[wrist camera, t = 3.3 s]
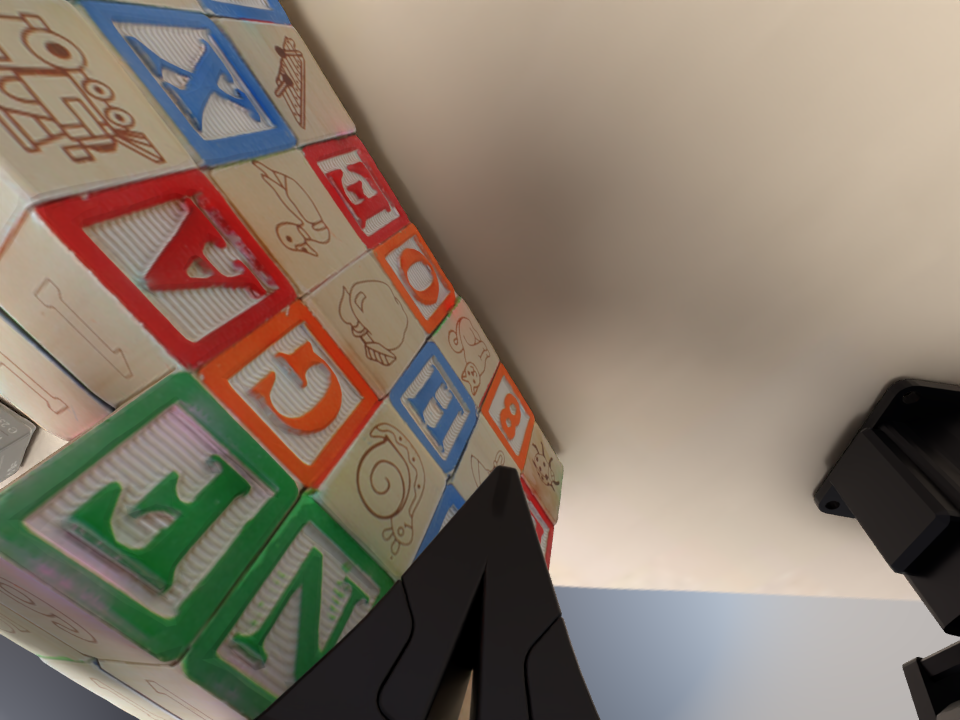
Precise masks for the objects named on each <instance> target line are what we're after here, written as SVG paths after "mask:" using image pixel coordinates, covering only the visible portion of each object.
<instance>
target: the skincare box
mask: <svg viewBox="0 0 960 720" xmlns="http://www.w3.org/2000/svg"><path fill="white" fill-rule="evenodd" d="M35 430H36V426H35V425H34V424H33V423H31V422H30V421H29V420H27V419H25V418H23V417H22V416H20V415H19V414H17V413H15V412H14V411H12V410H11V409H10V408H8V407H7V406H5V405H4V404H2V403H1V402H0V482H2V481H3V480H5V479H6V478H8V477H10V476H11V475H13V474H14V473H16V472H17V471H18V469H19V466H20V464H21V462H22V459H23V456H24V453H25V450H26V448H27V446H28V444H29V441H30V439H31V436H32V434H33V433H34V431H35Z"/></svg>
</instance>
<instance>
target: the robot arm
mask: <svg viewBox="0 0 960 720" xmlns="http://www.w3.org/2000/svg"><path fill="white" fill-rule="evenodd" d="M909 392H912V393H910V394H909V395H908V396H905V397H903V396H904V395H905V394H906V393H909ZM814 502H815V503H816V505H817V507H818V508H819V510H820V511H822V512H824V513H827V514H833V515H838V516H844V517H850V518H855V519H857V520H858V522H859V523H860V525H861V526H862V528H863V529H864V530H865V532H866V533H867V535H868V536H869V538H870V539H871V541H872V542H873V543H874V545H875V546H876V548H877V549H878V551H879V552H880V553H881V555H882V556H883V558H884V559H885V561H886V562H887V563H888V565H889V566H890V568H891V569H892V570H893V571H894V572H896V573H900V574H903V575H904V576H905V577H906V579H907V580H908V581H909V583H910V584H911V586H912V587H913V588H914V590H915V591H916V593H917V594H918V595H919V597H920V598H921V600H922V601H923V602H924V604H925V605H926V607H927V608H928V609H929V611H930V612H931V614H932V615H933V616H934V618H935V619H936V621H937V622H938V623H939V625H940V626H941V628H942V629H943V630H944V632H945V633H947V634H950V635H954V636H959V637H960V386H956V385H949V384H942V383H935V382H928V381H921V380H914V379H905V380H901V381H898V382H896V383H894V384H893V385H892V386H891V387H890V388H889V389H888V390H887V391H886V393H885V394H884V396H883V397H882V399H881V400H880V402H879V403H878V404H877V406H876V407H875V409H874V410H873V412H872V413H871V415H870V416H869V418H868V419H867V420H866V422H865V423H864V425H863V426H862V428H861V429H860V431H859V432H858V433H857V435H856V436H855V438H854V439H853V441H852V442H851V444H850V445H849V447H848V448H847V449H846V451H845V452H844V454H843V455H842V457H841V458H840V460H839V461H838V463H837V464H836V465H835V467H834V468H833V470H832V471H831V473H830V474H829V476H828V477H827V479H826V480H825V481H824V483H823V484H822V486H821V487H820V489H819V490H818V492H817V493H816V494H815V496H814ZM561 616H562V613H561V610H560V606H559V603H558V600H557V597H556V594H555V591H554V587H553V584H552V580H551V577H550V574H549V571H548V567H547V564H546V561H545V558H544V555H543V551H542V548H541V545H540V542H539V538H538V535H537V532H536V529H535V525H534V522H533V519H532V516H531V512H530V509H529V506H528V503H527V500H526V496H525V493H524V490H523V487H522V483H521V480H520V477H519V474H518V471H517V469H516V468H513V467H508V466H503V465H498V466H496V467H495V468H494V470H493V471H492V472H491V473H490V474H489V475H488V477H487V478H486V479H485V480H484V481H483V482H482V483H481V485H480V486H479V487H478V488H477V489H476V490H475V492H474V493H473V494H472V495H471V496H470V497H469V498H468V500H467V501H466V502H465V503H464V504H463V505H462V507H461V508H460V509H459V510H458V511H457V512H456V513H455V515H454V516H453V517H452V518H451V519H450V520H449V522H448V523H447V524H446V525H445V526H444V527H443V528H442V530H441V531H440V532H439V533H438V534H437V535H436V537H435V538H434V539H433V540H432V541H431V542H430V543H429V545H428V546H427V547H426V548H425V549H424V550H423V552H422V553H421V554H420V555H419V556H418V557H417V558H416V560H415V561H414V562H413V563H412V564H411V565H410V566H409V568H408V569H407V570H406V571H405V572H404V573H403V575H402V576H401V580H400V579H399V580H397V581H396V582H395V584H394V585H393V586H392V587H391V588H390V589H389V590H388V592H387V593H386V594H385V595H384V596H383V597H382V598H381V599H380V600H379V602H378V603H377V604H376V605H375V606H374V607H373V608H372V609H371V610H370V611H369V612H368V613H367V615H366V616H365V617H364V618H363V619H362V620H361V621H360V622H359V623H358V624H357V625H356V626H355V627H354V628H353V629H351V630H350V631H349V632H348V633H347V634H346V635H345V636H344V637H343V638H342V639H341V640H340V641H339V642H338V643H337V644H336V645H335V646H334V647H333V648H332V649H331V650H329V651H328V652H327V653H326V654H325V655H324V656H323V657H322V658H321V659H320V660H319V661H318V662H316V663H315V664H314V665H313V666H312V667H311V668H310V669H309V670H308V671H307V672H306V673H305V674H303V675H302V676H301V677H300V678H299V679H298V680H297V681H296V682H295V683H294V684H293V685H292V686H290V687H289V688H288V689H287V690H286V691H285V692H284V693H283V694H282V695H281V696H280V697H279V698H277V699H276V700H275V701H274V702H273V703H272V704H271V705H270V706H269V707H268V708H266V709H265V710H264V711H263V712H262V713H261V714H260V715H258V716H257V717H256V718H255V719H253V720H458V718H459V714H460V711H461V708H462V704H463V701H464V697H465V694H466V690H467V687H468V684H469V680H470V677H471V673H472V670H473V674H472V688H471V702H470V715H469V720H600V718H599V715H598V713H597V711H596V708H595V705H594V703H593V700H592V698H591V695H590V693H589V691H588V688H587V686H586V683H585V681H584V678H583V676H582V673H581V670H580V668H579V665H578V661H577V659H576V656H575V653H574V650H573V647H572V645H571V641H570V638H569V635H568V631H567V629H566V625H565V622H564V619H563V618H562V617H561ZM903 670H904V674H905V677H906V680H907V683H908V686H909V689H910V692H911V696H912V699H913V702H914V705H915V708H916V711H917V714H918V717H919V720H960V641H958V642H956V643H954V644H952V645H950V646H948V647H946V648H944V649H942V650H940V651H938V652H936V653H934V654H932V655H930V656H928V657H925V658H920V657H916V658H915V659H912V660H910V661H908V662H906V663H905V664H903Z"/></svg>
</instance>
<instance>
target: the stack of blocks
mask: <svg viewBox="0 0 960 720" xmlns="http://www.w3.org/2000/svg"><path fill="white" fill-rule="evenodd" d="M0 395H2V396H3V397H4V398H5V399H7V400H8V401H9V402H10V403H12V404H13V405H14V406H15V407H17V408H18V409H19V410H20V411H21V412H23V413H24V414H25V415H26V416H28V417H29V418H30V419H31V420H33V421H34V422H35V423H36V424H38V425H39V426H40V427H41V428H43V429H44V430H46V431H48V432H50V433H52V434H54V435H56V436H57V437H59V438H61V439H63V440H66V441H70V442H69V443H67V444H66V445H64V446H63V447H61V448H60V449H58V450H57V451H56V452H54V453H53V454H51V455H50V456H48V457H47V458H45V459H44V460H42V461H41V462H40V463H38V464H37V465H35V466H34V467H32V468H31V469H29V470H28V471H27V472H25V473H24V474H22V475H21V476H19V477H18V478H16V479H15V480H13V481H12V482H11V483H9V484H8V485H6V486H5V487H3V488H2V489H0V634H2V635H3V636H5V637H7V638H8V639H10V640H12V641H13V642H15V643H17V644H18V645H20V646H22V647H23V648H25V649H27V650H29V651H30V652H32V653H34V654H36V655H38V656H39V657H40V659H41V660H42V661H43V662H44V663H46V664H47V665H49V666H51V667H52V668H54V669H56V670H57V671H59V672H60V673H62V674H64V675H65V676H67V677H69V678H70V679H72V680H73V681H75V682H77V683H78V684H80V685H81V686H84V687H85V688H87V689H88V690H90V691H92V692H94V693H95V694H97V695H99V696H101V697H103V698H104V699H106V700H108V701H109V702H111V703H112V704H114V705H116V706H118V707H119V708H121V709H122V710H124V711H126V712H128V713H130V714H131V715H133V716H135V717H137V718H139V719H141V720H253V719H255V718H256V717H257V716H258V715H260V714H261V713H262V712H263V711H264V710H265V709H266V708H268V707H269V706H270V705H271V704H272V703H273V702H274V701H275V700H276V699H277V698H279V697H280V696H281V695H282V694H283V693H284V692H285V691H286V690H287V689H288V688H289V687H290V686H292V685H293V684H294V683H295V682H296V681H297V680H298V679H299V678H300V677H301V676H302V675H303V674H305V673H306V672H307V671H308V670H309V669H310V668H311V667H312V666H313V665H314V664H315V663H316V662H318V661H319V660H320V659H321V658H322V657H323V656H324V655H325V654H326V653H327V652H328V651H329V650H331V649H332V648H333V647H334V646H335V645H336V644H337V643H338V642H339V641H340V640H341V639H342V638H343V637H344V636H345V635H346V634H347V633H348V632H349V631H350V630H351V629H353V628H354V627H355V626H356V625H357V624H358V623H359V622H360V621H361V620H362V619H363V618H364V617H365V616H366V615H367V613H368V612H369V611H370V610H371V609H372V608H373V607H374V606H375V605H376V604H377V603H378V602H379V600H380V599H381V598H382V597H383V596H384V595H385V594H386V593H387V592H388V590H389V589H390V588H391V587H392V586H393V585H394V584H395V582H396V581H397V580H399V579H400V580H401V576H402V575H403V573H404V572H405V571H406V570H407V569H408V568H409V566H410V565H411V564H412V563H413V562H414V561H415V560H416V558H417V557H418V556H419V555H420V554H421V553H422V552H423V550H424V549H425V548H426V547H427V546H428V545H429V543H430V542H431V541H432V540H433V539H434V538H435V537H436V535H437V534H438V533H439V532H440V531H441V530H442V528H443V527H444V526H445V525H446V524H447V523H448V522H449V520H450V519H451V518H452V517H453V516H454V515H455V513H456V512H457V511H458V510H459V509H460V508H461V507H462V505H463V504H464V503H465V502H466V501H467V500H468V498H469V497H470V496H471V495H472V494H473V493H474V492H475V490H476V489H477V488H478V487H479V486H480V485H481V483H482V482H483V481H484V480H485V479H486V478H487V477H488V475H489V474H490V473H491V472H492V471H493V470H494V468H495V467H496V466H498V465H503V466H508V467H513V468H516V469H517V471H518V474H519V477H520V480H521V483H522V487H523V490H524V493H525V496H526V500H527V503H528V506H529V509H530V512H531V516H532V519H533V522H534V525H535V529H536V532H537V535H538V538H539V542H540V545H541V548H542V551H543V555H544V558H545V561H546V564H547V567H548V571H549V564H550V556H551V548H552V540H553V532H554V527H553V526H554V525H555V524H556V523H557V520H558V511H559V505H560V497H561V487H562V479H563V466H562V464H561V462H560V461H559V459H558V458H557V456H556V454H555V453H554V451H553V449H552V448H551V446H550V444H549V443H548V441H547V439H546V438H545V436H544V434H543V433H542V431H541V429H540V428H539V426H538V425H537V423H536V422H535V417H534V415H533V413H532V411H531V409H530V408H529V406H528V404H527V403H526V401H525V400H524V398H523V396H522V395H521V393H520V391H519V390H518V388H517V386H516V385H515V383H514V382H513V380H512V378H511V377H510V375H509V373H508V372H507V370H506V369H505V367H504V365H503V364H502V363H501V362H500V360H499V358H498V355H497V353H496V352H495V350H494V348H493V347H492V345H491V343H490V341H489V340H488V338H487V337H486V335H485V333H484V332H483V330H482V328H481V327H480V325H479V323H478V322H477V320H476V318H475V317H474V315H473V314H472V312H471V310H470V309H469V307H468V305H467V304H466V302H465V301H464V300H463V298H461V297H460V296H458V295H457V294H456V292H455V291H454V289H453V286H452V284H451V282H450V281H449V280H448V279H447V278H446V276H445V274H444V272H443V271H442V269H441V268H440V266H439V264H438V262H437V261H436V259H435V257H434V256H433V254H432V253H431V251H430V249H429V248H428V246H427V244H426V243H425V241H424V240H423V238H422V236H421V235H420V233H419V231H418V230H417V228H416V226H415V225H414V224H413V223H411V222H410V221H409V219H408V217H407V215H406V213H405V211H404V210H403V208H402V207H401V205H400V203H399V202H398V200H397V198H396V196H395V195H394V193H393V191H392V190H391V188H390V186H389V185H388V183H387V182H386V180H385V178H384V177H383V175H382V174H381V172H380V171H379V170H378V168H377V166H376V164H375V162H374V160H373V159H372V157H371V156H370V154H369V153H368V151H367V149H366V148H365V146H364V144H363V143H362V142H361V141H360V139H359V138H358V137H357V135H356V127H355V125H354V123H353V121H352V120H351V118H350V116H349V115H348V113H347V112H346V110H345V108H344V107H343V105H342V103H341V102H340V100H339V99H338V97H337V95H336V94H335V92H334V90H333V89H332V87H331V86H330V84H329V82H328V81H327V79H326V77H325V76H324V74H323V72H322V71H321V69H320V67H319V66H318V64H317V62H316V61H315V59H314V57H313V56H312V54H311V53H310V51H309V49H308V48H307V46H306V44H305V43H304V41H303V39H302V38H301V36H300V35H299V33H298V32H297V31H296V29H295V28H294V27H293V26H292V25H291V23H290V21H289V18H288V16H287V14H286V13H285V11H284V9H283V8H282V6H281V4H280V3H279V1H278V0H0ZM472 674H473V670H472V673H471V677H470V680H469V684H468V687H467V690H466V694H465V697H464V701H463V704H462V708H461V711H460V714H459V718H458V720H469V715H470V702H471V688H472Z"/></svg>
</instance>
